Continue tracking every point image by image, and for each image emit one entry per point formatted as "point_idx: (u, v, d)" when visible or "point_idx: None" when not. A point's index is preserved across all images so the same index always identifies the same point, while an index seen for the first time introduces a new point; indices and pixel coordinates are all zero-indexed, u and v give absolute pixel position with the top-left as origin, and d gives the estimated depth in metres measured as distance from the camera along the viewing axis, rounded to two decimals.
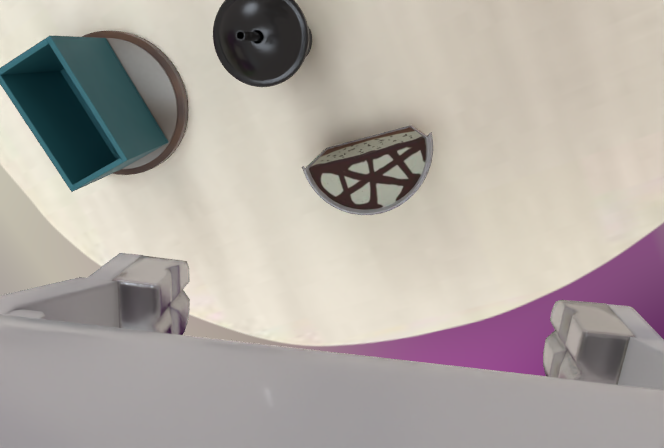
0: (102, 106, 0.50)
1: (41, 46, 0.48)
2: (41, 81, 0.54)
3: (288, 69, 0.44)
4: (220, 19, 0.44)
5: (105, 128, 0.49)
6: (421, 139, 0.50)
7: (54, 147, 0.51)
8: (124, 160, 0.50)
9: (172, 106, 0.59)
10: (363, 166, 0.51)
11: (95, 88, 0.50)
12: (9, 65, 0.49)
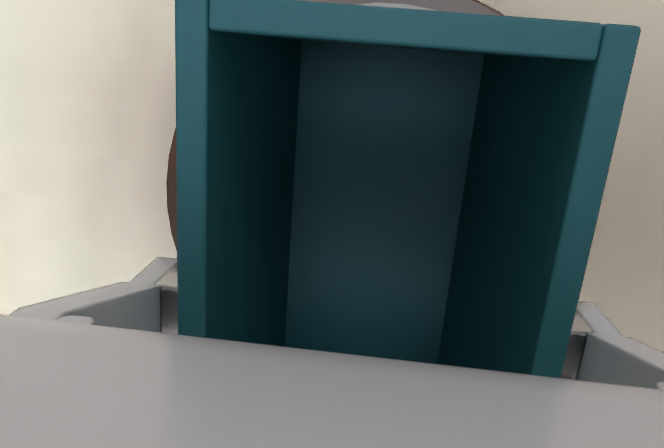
0: None
1: (548, 48, 0.08)
2: (274, 75, 0.13)
3: None
4: None
5: None
6: None
7: None
8: None
9: None
10: None
11: None
12: (295, 19, 0.08)
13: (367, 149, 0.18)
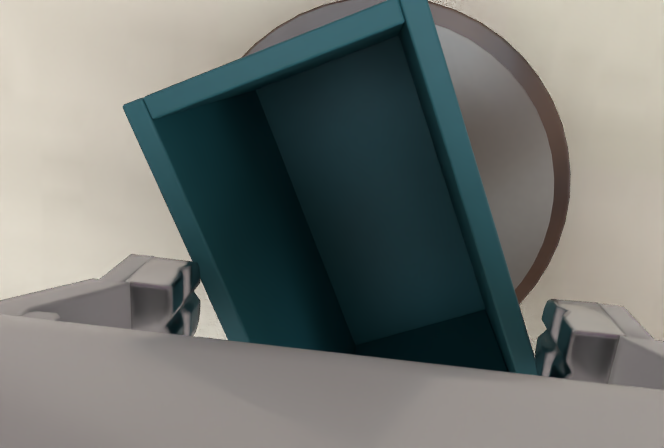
0: None
1: None
2: (499, 342, 0.18)
3: None
4: None
5: (193, 245, 0.12)
6: None
7: (456, 192, 0.12)
8: (136, 105, 0.12)
9: None
10: None
11: None
12: None
13: (405, 254, 0.22)
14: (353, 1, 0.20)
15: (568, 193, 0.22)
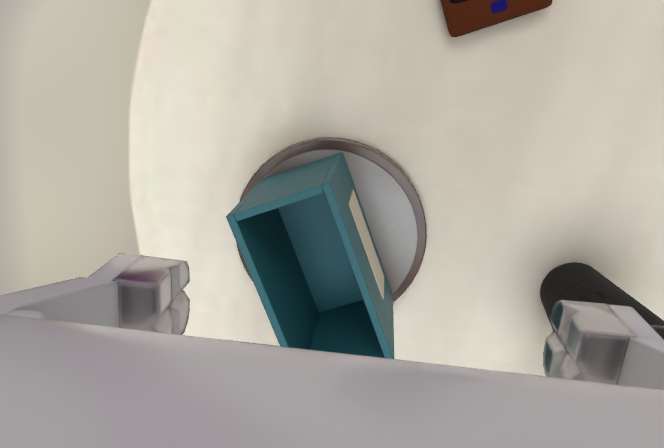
0: None
1: None
2: None
3: None
4: None
5: (249, 265, 0.34)
6: None
7: None
8: (231, 216, 0.33)
9: (396, 280, 0.44)
10: None
11: None
12: None
13: (343, 265, 0.43)
14: None
15: (325, 141, 0.42)
